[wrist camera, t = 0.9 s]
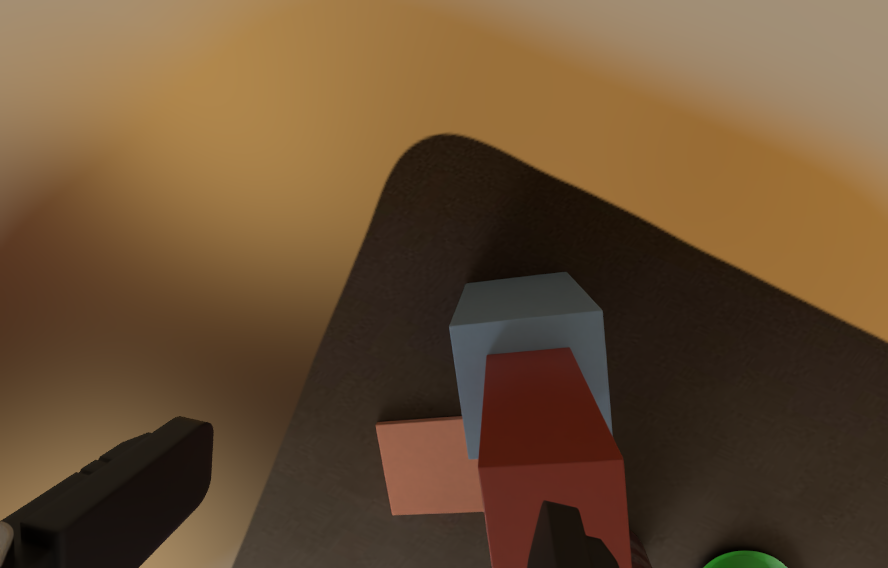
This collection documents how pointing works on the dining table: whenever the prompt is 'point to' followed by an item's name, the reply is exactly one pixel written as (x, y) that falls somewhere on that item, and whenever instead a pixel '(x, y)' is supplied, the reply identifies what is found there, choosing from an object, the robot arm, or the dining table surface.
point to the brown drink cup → (638, 553)
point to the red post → (546, 455)
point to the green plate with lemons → (745, 560)
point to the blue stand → (525, 336)
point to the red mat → (429, 466)
